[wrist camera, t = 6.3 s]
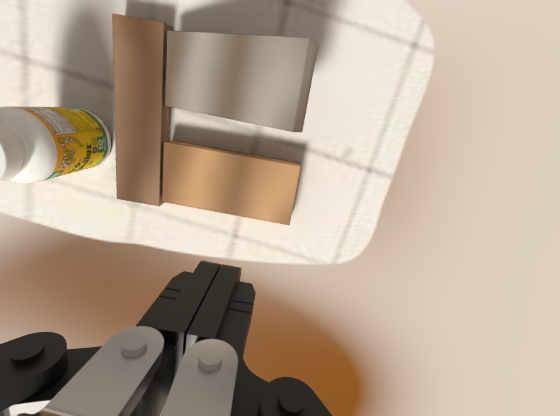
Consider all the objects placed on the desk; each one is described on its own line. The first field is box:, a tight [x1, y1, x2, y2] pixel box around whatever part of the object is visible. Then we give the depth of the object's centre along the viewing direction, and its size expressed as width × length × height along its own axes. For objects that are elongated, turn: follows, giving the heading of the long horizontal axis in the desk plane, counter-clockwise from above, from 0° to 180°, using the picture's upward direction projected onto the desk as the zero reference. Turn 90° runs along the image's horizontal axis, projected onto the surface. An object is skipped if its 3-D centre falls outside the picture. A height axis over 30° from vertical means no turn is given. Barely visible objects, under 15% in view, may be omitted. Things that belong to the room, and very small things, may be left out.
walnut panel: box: [112, 14, 173, 206], centre depth 25 cm, size 4×15×2 cm, turn 170°
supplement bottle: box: [0, 107, 111, 183], centre depth 22 cm, size 5×5×10 cm
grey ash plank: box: [165, 31, 318, 132], centre depth 21 cm, size 12×6×2 cm, turn 80°
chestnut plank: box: [162, 141, 301, 225], centre depth 26 cm, size 12×6×2 cm, turn 81°
